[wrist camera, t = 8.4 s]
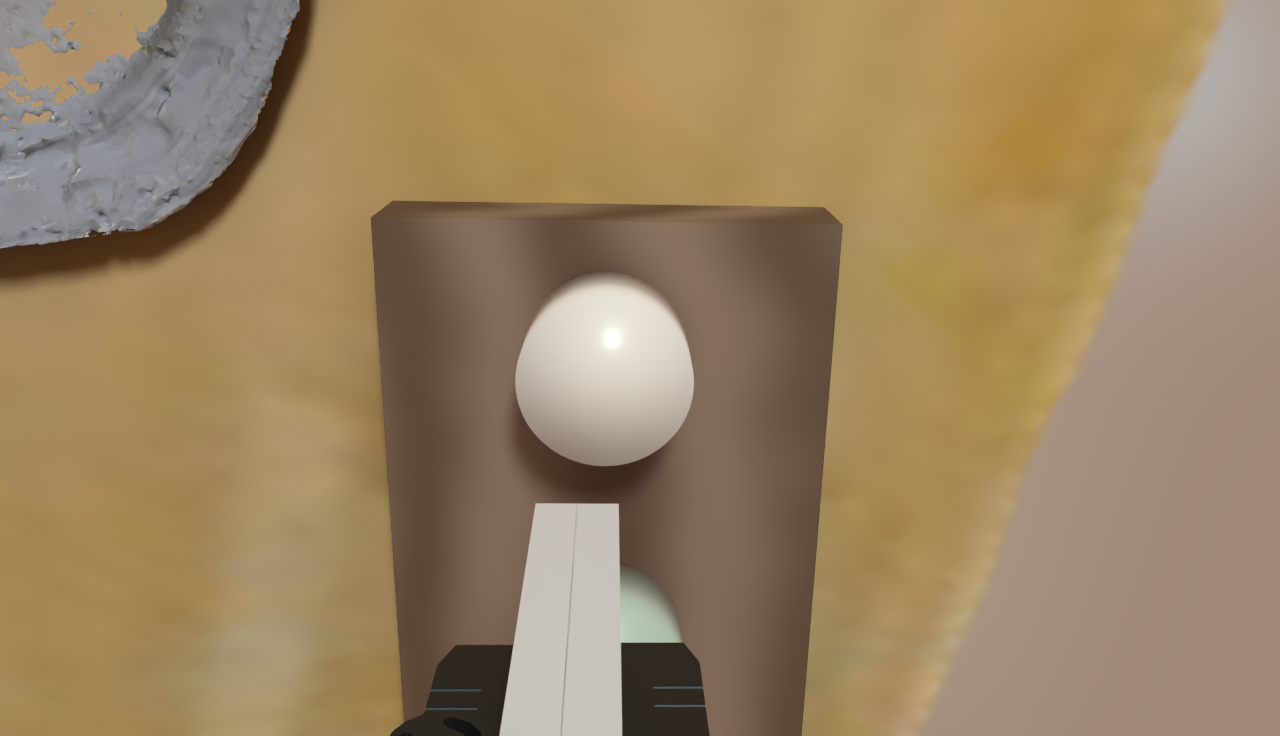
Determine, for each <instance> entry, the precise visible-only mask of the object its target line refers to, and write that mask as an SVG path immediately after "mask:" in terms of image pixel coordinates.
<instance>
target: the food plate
mask: <svg viewBox="0 0 1280 736" xmlns="http://www.w3.org/2000/svg"><path fill="white" fill-rule="evenodd" d="M166 1H167V8H166V10H165V13H164V14H163V15H162V16H161V17H160V19H159V21H158V23H157V24H155V25H152V26H149V28H148V31H147V32H145V33H144V32H137V28H136V29H135V30H136V32H137V40H138V42H139V43H140V44H141V45H144V46H142V47H140V49H139V50H138V51H136V52H134V53H133V55H132V56H131V57H130V58H129V60H127V59H126V58H125V57H124V56H123V55H121V54H116V55H113V56H109V57H107V61H108V62H106V64H105V63H103V62H100V61H99V62H96V65H95V67H94V68H92V69H90V70H89V71H88V72H87V73H86V74H85V75H84V76H83V77H84V79H85V80H86V81H87V82H88V83H89V84H97V83H100V85H99V87H100V88H99V91H97V92H95V93H94V94H90V93H87V94H85V95H84V96H83V94H84V93H85V92H86V91H85V90H84V89H83V88H82V87H81V86H79V85H78V84H76V83H75V78H73V77H72V76H71V77H68V79H67V85H70V83H72V84H73V86H74V87H75V88H76V89H77V90H78V94H74V95H72V96H70V98H69V99H66V100H65V101H64V102H63V103H61V104H55V103H54V97H55V94H57V92H58V91H59V90H60V88H61V87H60V86H59V87H58V88H56V89H55V90H54V92H51V93H50V92H49V89H50V88H48V86H47V88H45V87H42V85H41V88H39V89H38V88H37V87H36V88H35V90H34V92H29V90H28V89H27V88H26V87H25V86H23V85H20V84H19V82H18V81H16V80H12V81H10V83H9V84H8V85H7V86H5V88H3V89H0V103H1V104H2V106H0V248H6V247H13V246H16V245H19V246H23V245H28V244H37V243H39V244H38V245H40V244H46V243H51V242H58V241H65V240H70V239H75V238H83V237H90V236H89V235H88V234H89V233H91V230H95V231H97V232H103V235H108V234H111V231H113V230H116V229H119V231H122V230H125V229H135V230H127V231H122V232H136V231H141V230H144V229H148V228H152V227H154V226H156V225H157V224H158V223H160V222H161V221H163V220H164V219H165V218H166V217H169V215H172V214H174V213H177V211H180V210H182V209H183V208H185V207H186V206H187V205H188V204H189V203H190V202H191V201H193V198H194V197H196V196H198V195H200V194H202V193H203V191H205V190H206V189H208V188H209V187H211V186H212V185H213V181H214V180H216V177H217V178H219V176H220V175H222V173H223V172H224V171H225V170H226V169H227V166H229V165H230V164H231V163H232V162H233V160H234V159H235V157H236V156H237V154H238V152H239V150H240V148H241V147H242V145H243V143H244V141H245V140H246V139H247V138H248V136H249V135H250V134H251V133H252V132H253V131H254V129H255V128H256V127H255V126H256V125H257V124H256V123H258V114H259V113H260V112H261V110H260V109H261V108H262V107H263V106H265V104H264V103H266V101H265V99H267V98H268V93H269V91H270V90H271V88H272V83H271V80H270V79H271V78H272V76H273V69H274V66H275V65H276V60H279V58H278V57H279V56H281V51H282V49H283V47H284V42H285V40H287V37H286V35H287V34H288V33H289V32H290V31H291V30H290V25H292V23H291V21H292V19H294V20H295V17H296V13H297V12H299V11H300V6H299V0H166ZM54 3H56V2H55V1H52V0H0V71H4V72H6V73H7V74H8V76H9V75H10V74H13V75H14V76H15V77H16V76H17V75H22V70H20V69H19V66H18V62H17V61H18V60H17V59H16V57H14V56H13V55H12V54H11V53H10V50H9V46H10V47H15V48H23V47H24V46H26V45H29V44H34V43H35V42H41V41H44V42H45V44H46V45H47V46H48V47H50V48H51V50H52V51H53V52H54V53H58V52H59V53H60V52H62V53H66V52H67V51H68V50H69V49H71V48H72V49H74V50H76V51H78V50H79V49H81V44H80V43H78V42H76V41H75V40H72V41H71V42H70V41H69V40H68V39H67V38H66V37H65V36H64V31H62V30H61V28H59V27H58V26H57V27H53V28H50V29H45V28H43V24H42V19H43V17H45V16H46V14H47V13H48V12H49V6H50V5H54ZM15 9H17V11H15ZM14 13H15V15H14ZM88 13H89V14H92V12H91V11H90V10H88ZM120 14H121V15H122V12H121V13H120ZM70 23H71V24H72V25H73V24H74V23H75V22H73V21H72V22H70ZM70 29H71V26H69V27H68V29H67V31H69V30H70ZM54 37H57V42H56V44H55V45H53V44H52V41H53V38H54ZM100 58H101V57H99V59H100ZM24 82H27V80H26V79H25V78H24ZM15 88H16V95H17V96H22V97H24V96H28V95H29V94H30V97H31V101H36V102H38V101H39V100H44V104H43V105H42V106H41V107H32V106H31V105H30V104H29V103H30V102H31V101H27V99H26V98H25V97H24V98H25V100H26V102H24V103H16V102H15V100H14V99H13V98H12V97H10V96H9V95H8V93H7V91H6V90H11V91H13V92H14V89H15ZM271 91H272V90H271ZM81 95H82V96H81ZM49 101H50V102H49ZM49 110H50V111H51V112H52V115H51V118H50V119H49V121H46V122H45V123H43V122H37V123H32V124H28V125H27V124H25V123H22V118H23V116H24V114H25V112H28V113H31V114H34V115H36V116H40V115H41V114H42V113H43V112H44V111H49ZM3 115H5V116H7V117H8V119H7V121H3V120H2V116H3ZM21 127H22V128H21ZM11 128H12V129H18V131H17V132H16V133H14V132H12V131H10V129H11ZM122 232H117V233H122ZM113 234H114V233H113ZM94 236H96V235H94ZM91 237H92V236H91Z"/></svg>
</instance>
